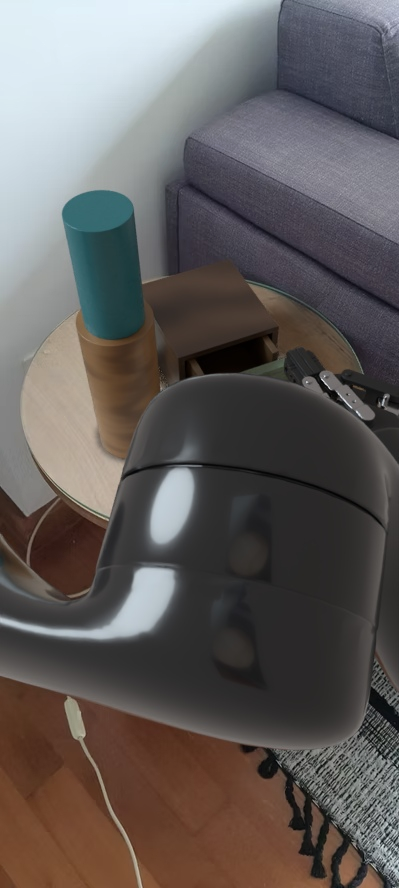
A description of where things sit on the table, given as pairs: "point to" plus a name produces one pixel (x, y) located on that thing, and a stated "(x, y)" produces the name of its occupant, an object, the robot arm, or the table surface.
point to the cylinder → (105, 262)
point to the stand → (120, 380)
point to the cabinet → (204, 315)
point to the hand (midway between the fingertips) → (292, 355)
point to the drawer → (240, 360)
